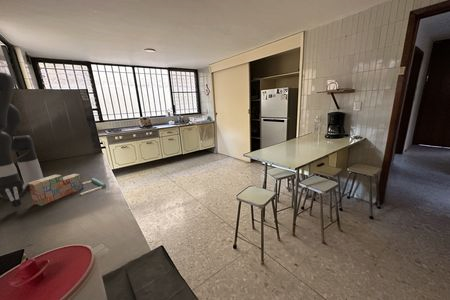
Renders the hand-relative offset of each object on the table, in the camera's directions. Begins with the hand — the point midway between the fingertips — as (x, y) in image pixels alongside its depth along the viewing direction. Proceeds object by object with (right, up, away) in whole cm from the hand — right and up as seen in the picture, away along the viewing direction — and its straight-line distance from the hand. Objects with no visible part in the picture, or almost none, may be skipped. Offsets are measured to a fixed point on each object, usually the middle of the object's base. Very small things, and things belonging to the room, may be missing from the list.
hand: (17, 206), depth 92 cm
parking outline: (+18, +5, +23) cm, 30 cm away
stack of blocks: (+9, +2, +14) cm, 17 cm away
